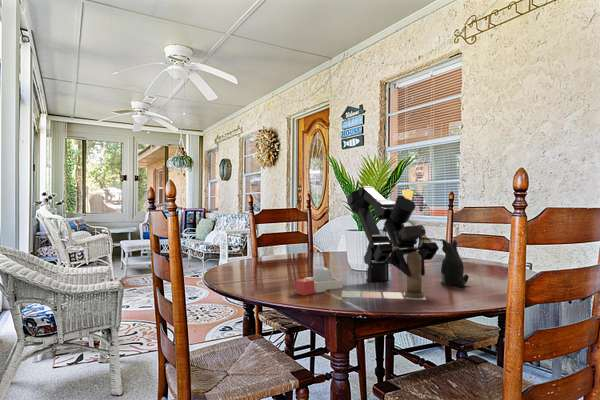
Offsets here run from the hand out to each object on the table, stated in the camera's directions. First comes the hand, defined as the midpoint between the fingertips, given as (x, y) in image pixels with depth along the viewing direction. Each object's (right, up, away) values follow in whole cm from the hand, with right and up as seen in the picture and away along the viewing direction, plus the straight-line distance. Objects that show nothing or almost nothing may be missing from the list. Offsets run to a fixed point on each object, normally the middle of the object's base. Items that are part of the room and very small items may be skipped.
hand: (416, 275), depth 108 cm
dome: (-26, -6, +15) cm, 30 cm away
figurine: (+18, -7, +18) cm, 27 cm away
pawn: (0, -6, +1) cm, 6 cm away
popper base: (-26, -7, +15) cm, 30 cm away
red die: (-32, -7, +8) cm, 33 cm away
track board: (-9, -7, +3) cm, 12 cm away
